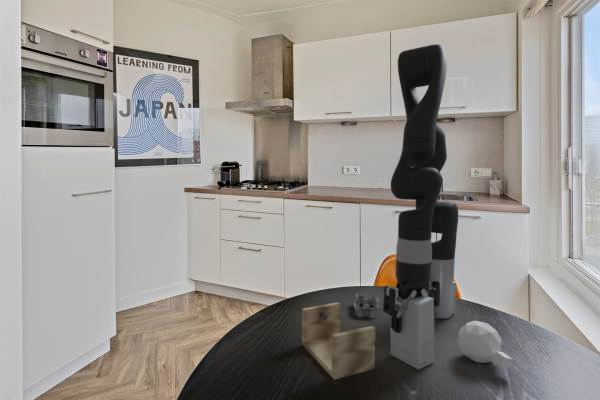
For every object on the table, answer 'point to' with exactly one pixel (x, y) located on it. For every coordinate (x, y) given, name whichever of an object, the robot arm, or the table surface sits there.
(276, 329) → the table surface
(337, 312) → the holder
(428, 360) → the skincare box
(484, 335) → the perfume bottle
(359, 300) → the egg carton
